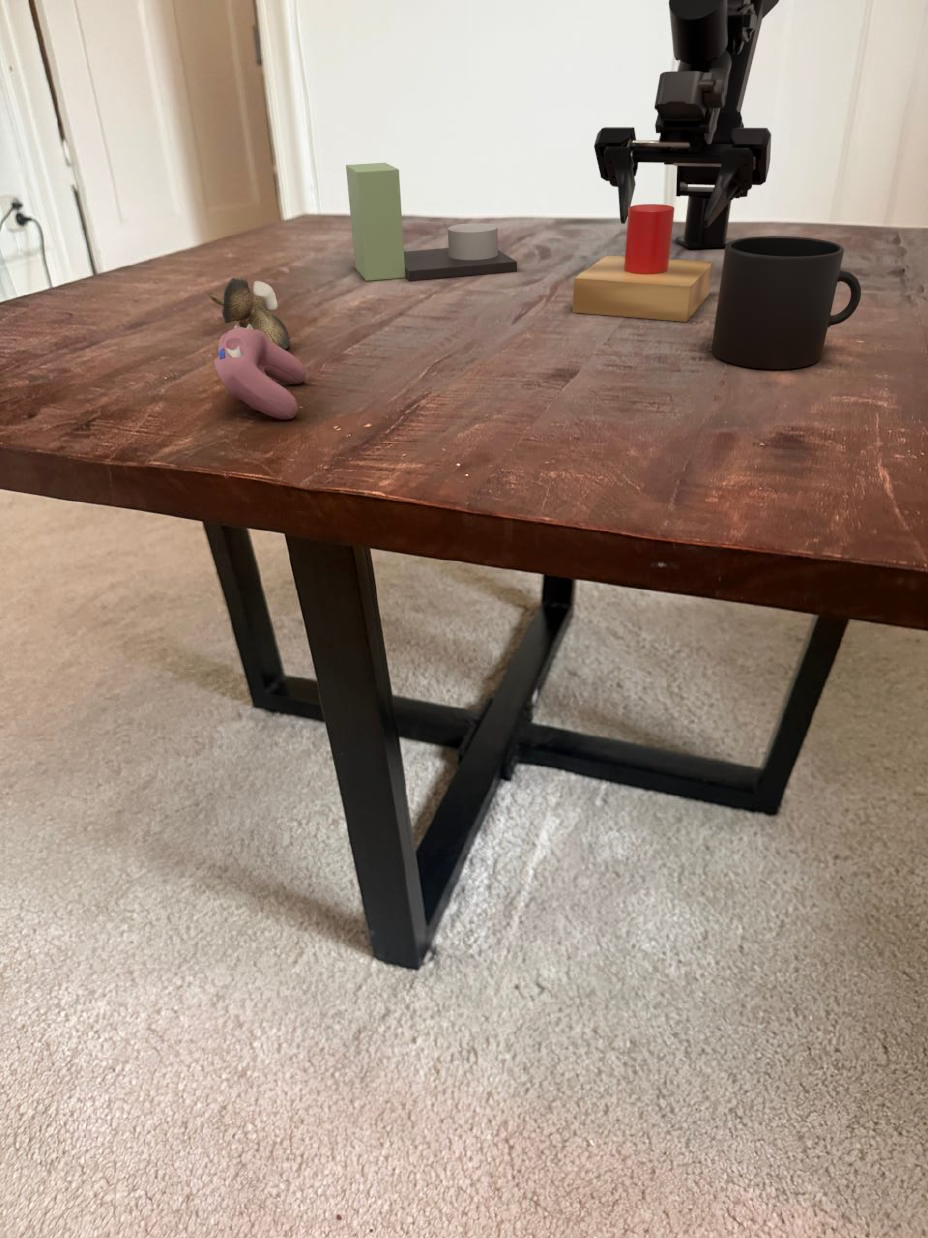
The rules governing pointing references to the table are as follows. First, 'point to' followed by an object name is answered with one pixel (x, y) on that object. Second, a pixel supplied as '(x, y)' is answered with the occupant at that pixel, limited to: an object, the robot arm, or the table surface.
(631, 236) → the cylinder
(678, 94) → the robot arm
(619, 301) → the block
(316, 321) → the table surface
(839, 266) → the mug
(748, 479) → the table surface
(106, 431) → the table surface
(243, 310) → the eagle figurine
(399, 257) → the coffee maker
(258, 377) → the video game controller
